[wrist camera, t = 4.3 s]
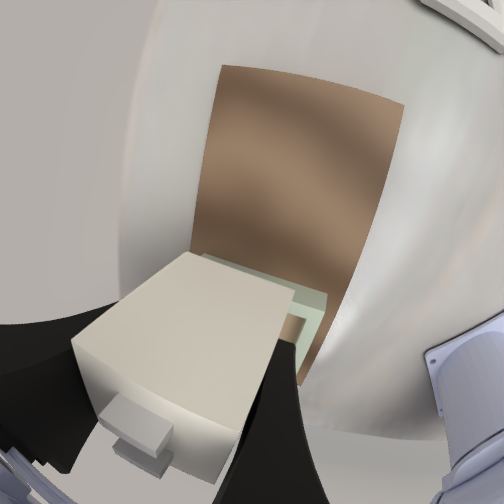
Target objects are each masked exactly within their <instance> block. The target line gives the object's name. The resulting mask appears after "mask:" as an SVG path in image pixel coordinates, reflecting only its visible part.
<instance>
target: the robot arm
mask: <svg viewBox="0 0 504 504" xmlns="http://www.w3.org/2000/svg"><path fill="white" fill-rule="evenodd" d="M118 302H119V301H118ZM118 302H115V303H112V304H110V305H106V306H103V307H101V308H98V309H94V310H91V311H87V312H84V313H81V314H77V315H74V316H70V317H66V318H61V319H56V320H51V321H44V322H36V323H28V324H14V325H13V324H12V325H0V453H1V454H2V456H3V457H4V458H5V459H6V460H7V461H8V463H9V464H10V465H11V466H12V467H13V468H14V469H15V470H16V471H17V472H16V471H15V470H14V469H13V468H12V467H11V466H10V465H9V464H8V463H6V462H5V461H4V460H3V459H2V458H1V457H0V504H41V503H40V502H38V501H37V500H36V499H35V498H34V497H33V496H32V495H30V494H29V493H30V492H31V488H30V486H31V487H32V488H33V489H34V490H35V491H36V492H38V493H39V494H40V495H41V496H42V497H43V498H44V499H45V500H46V501H47V502H48V503H50V504H77V503H76V502H74V501H73V500H72V499H70V498H69V497H68V496H66V495H65V494H64V493H63V492H62V491H61V490H59V489H58V488H57V487H56V486H55V485H53V484H52V483H51V482H50V481H49V480H48V479H47V478H46V477H44V476H43V475H42V474H41V473H40V472H39V471H38V470H37V469H36V468H35V467H34V466H33V465H32V463H33V462H34V461H35V459H36V460H37V461H38V462H39V463H40V464H41V465H42V466H44V465H45V464H46V463H47V462H48V463H49V464H50V465H51V466H53V467H54V468H55V469H56V470H57V471H58V472H60V473H62V474H68V473H70V471H71V469H72V467H73V465H74V463H75V461H76V459H77V457H78V455H79V453H80V451H81V449H82V447H83V445H84V444H85V442H86V440H87V438H88V437H89V435H90V433H91V432H92V430H93V429H94V427H95V425H96V424H97V422H98V421H99V420H98V418H97V415H96V413H95V411H94V408H93V406H92V403H91V401H90V398H89V395H88V393H87V390H86V387H85V384H84V381H83V378H82V375H81V372H80V369H79V366H78V363H77V360H76V356H75V353H74V349H73V346H72V342H71V339H72V338H74V337H75V336H76V335H77V334H79V333H80V332H81V331H82V330H83V329H85V328H86V327H87V326H88V325H90V324H91V323H92V322H93V321H95V320H96V319H97V318H99V317H100V316H101V315H102V314H104V313H105V312H106V311H107V310H109V309H110V308H111V307H113V306H114V305H115V304H116V303H118ZM425 359H426V363H427V367H428V370H429V374H430V378H431V382H432V387H433V391H434V395H435V400H436V405H437V409H438V415H439V417H444V421H445V427H446V433H447V440H448V447H449V455H450V464H451V472H450V473H449V474H447V475H446V476H444V477H443V478H442V487H443V489H442V490H441V491H440V492H438V493H437V494H436V495H435V497H434V498H433V499H432V501H431V503H430V504H504V312H503V313H501V314H500V315H498V316H496V317H494V318H493V319H491V320H489V321H487V322H486V323H484V324H482V325H480V326H478V327H477V328H475V329H473V330H471V331H469V332H467V333H465V334H463V335H461V336H459V337H457V338H455V339H453V340H451V341H449V342H447V343H444V344H442V345H440V346H438V347H436V348H433V349H431V350H429V351H427V353H426V354H425ZM433 359H434V360H433ZM431 360H433V361H431ZM27 483H28V484H29V485H30V486H29V485H28V484H27ZM212 504H330V503H329V501H328V499H327V497H326V494H325V492H324V489H323V487H322V484H321V482H320V479H319V476H318V474H317V471H316V469H315V466H314V463H313V460H312V457H311V453H310V450H309V446H308V442H307V439H306V434H305V431H304V426H303V421H302V415H301V410H300V404H299V397H298V389H297V379H296V346H295V344H294V343H291V342H288V341H285V340H282V339H279V338H278V340H277V343H276V345H275V348H274V351H273V353H272V356H271V358H270V361H269V364H268V366H267V369H266V371H265V374H264V376H263V379H262V381H261V384H260V386H259V389H258V391H257V394H256V396H255V399H254V401H253V403H252V406H251V408H250V411H249V413H248V415H247V418H246V421H245V425H244V428H243V431H242V434H241V438H240V441H239V444H238V447H237V450H236V453H235V455H234V458H233V461H232V463H231V465H230V467H229V469H228V472H227V474H226V476H225V478H224V480H223V482H222V484H221V486H220V489H219V491H218V493H217V495H216V497H215V499H214V501H213V503H212Z"/></svg>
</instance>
